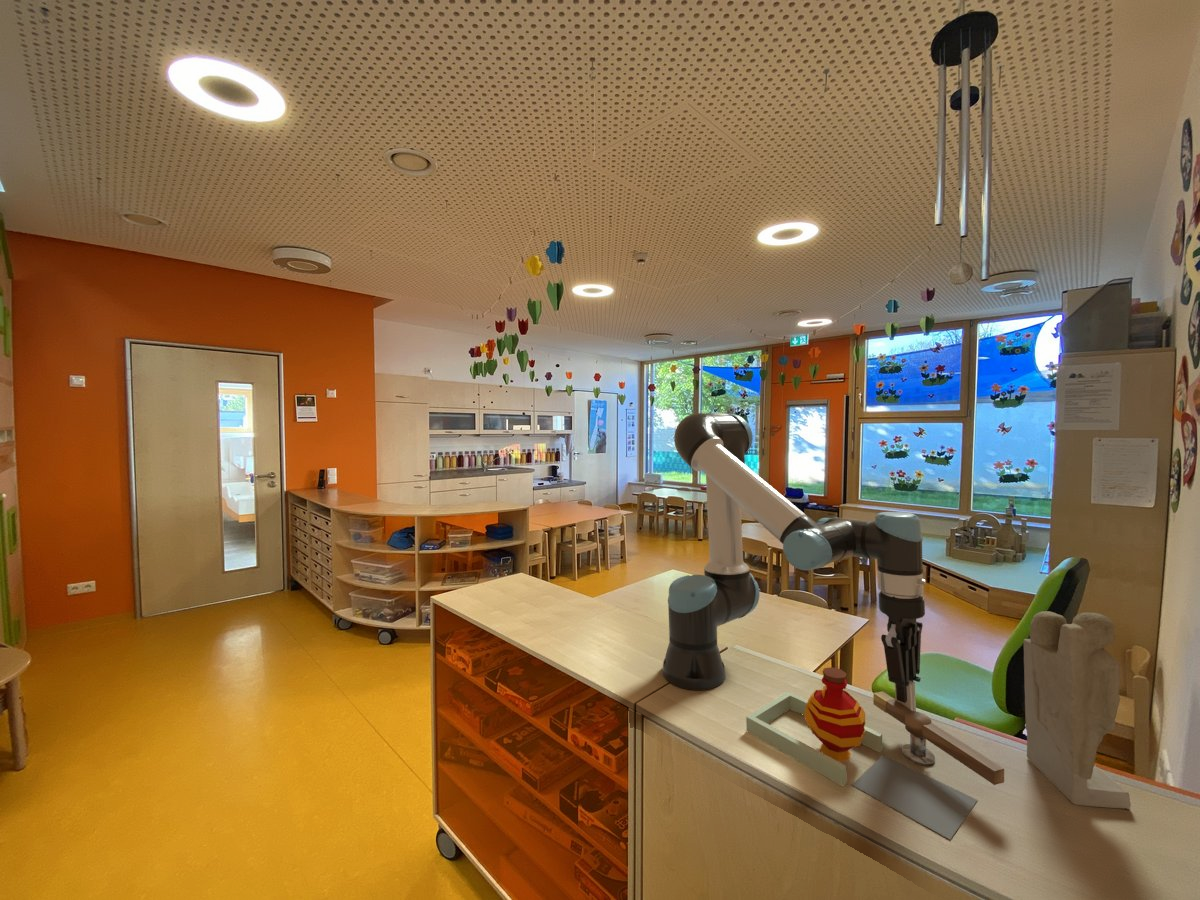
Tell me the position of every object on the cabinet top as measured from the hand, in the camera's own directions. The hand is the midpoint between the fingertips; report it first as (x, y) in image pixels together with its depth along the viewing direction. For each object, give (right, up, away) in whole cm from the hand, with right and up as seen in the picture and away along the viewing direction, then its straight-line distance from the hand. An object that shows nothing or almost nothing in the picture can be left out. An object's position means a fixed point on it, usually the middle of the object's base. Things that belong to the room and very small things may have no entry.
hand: (906, 715), depth 93 cm
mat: (-8, -5, -14) cm, 17 cm away
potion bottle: (-16, -5, -4) cm, 17 cm away
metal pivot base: (-1, -5, -5) cm, 7 cm away
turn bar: (-1, 0, -8) cm, 8 cm away
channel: (-18, -5, 0) cm, 18 cm away
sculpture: (+20, -5, -13) cm, 24 cm away
